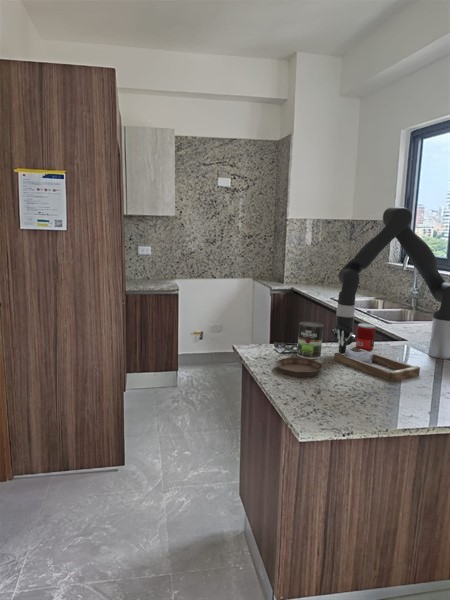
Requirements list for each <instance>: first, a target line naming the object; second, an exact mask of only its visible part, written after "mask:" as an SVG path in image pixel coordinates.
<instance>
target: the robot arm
mask: <svg viewBox="0 0 450 600" xmlns="http://www.w3.org/2000/svg"><path fill="white" fill-rule="evenodd" d="M412 219H413V214H412V212H411V210H409V209H408V208H406V207H402V206H391V207H388V208H387V209H386V210H384V212H383V214H382V221H383V224H384V225H385V226H384V227H383V228H382V230H381V231H379V232H378V234H376V235H375V236H374V237H373V238H371V239H370V240H369V241H367V242H366V243H365V244H364V245H363V246H362V247H361V249H359V250H358V252H357V253H356V255H355V256H354V257H353V258H352V259H351V260H350V261H349V262H348V263H347V264H345V265H344V266H343V267H342V269H341V270H340V271H339V273H338V280H339V281H340V283H342V285H341V291H340V290H339V293H338V299H337V306H336V317H335V325H336V326H335V328H334V329H331V334H332V336H333V339H334V341H335V343H337V344H338V353H340V354H343V355H344V354H345V352H346V351H347V346H351V344H352V343H353V342H354V341H356V340H355V339H357V334H356V335H355V334H354V333H353V326H354V323H355V322H354V321H355V311H356V310H355V307H356V305H355V304H356V295H357V292H358V288H359V285H360V284H359V283H360V275H359V274H360V272H362V271H363V270H366V269H367V268H368V267H369V266H370V265H371V264H372V263H373V261H375V259H376V258H377V257H378V255H380V253H381V252H382V251H383V250H384V249H385V247H387V246H388V245H389V244H390V243H391V241H393V240H394V239H396V240H397V242H398V243H399V244H400V245H399V246H401V248H402V250H403V251H404V252H405V254H406V256H407V257H408V259H409V261H410V262H411V264H413V267H415V269H416V270H417V272H418V273H419V275H420V276H421V278H422V279H423V280H424V282H425V284H426V287H427V288H428V290H429V291H430V294H431V295H432V297H433V299H434V300H435V301H437V302H439V303H440V308H439V309H438V310H435V311H434V312H433V314H432V315H433V316H432V323H431V324H432V325H431V332H430V339H429V340H430V341H429V347H428V348H429V349H428V356H429V357H432V358H436V359H443V360H447V359H450V282H447V281H446V280H445V279H444V278H443V276H442V275H441V274H440V272H439V270H438V262H437V257H436V255H435V253H434V252H433V251H432V249H431V247H430V246H429V245H428V244H427V242H426V241H425V240H424V239H423V238H421V237H420V236H419V235H417V233H415V232H414V231H413V229H412V228H411V227H410V224H411V222H412Z"/></svg>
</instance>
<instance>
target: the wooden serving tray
mask: <svg viewBox="0 0 450 600" xmlns="http://www.w3.org/2000/svg"><path fill="white" fill-rule="evenodd" d="M357 350H358V351H357V352H370V353H372V354H373V361H372V362H375V363H377V364H380V365H383V366H386V367H389V368H392V369H394V370H392V371H390V370H387V369H384V368H382V367H379V366H375V365H373V364H372V365H371V364H368V363H365V362H362V361H359V360H357V359H354V358H351V357H348V356H345V355H344V354H340V353H339V352H334V355H333V357H334V358H333V360H334V361H336V362H339V363H341V364H344V365H347V366H350V367H352V368H355V369H358V370H360V371H363V372H366V373H368V374H370V375H374V376H375V377H379V378H381V379H384V380H387V381H389V382H391V383H393V382H397V381H402V380H405V379H406V380H407V379H411V378H414V377H419V376H420V371H421V367H420V366H418V365H417V366H414V365H411V364H408V363H406V362H402V361H399V360H396V359H393V358H389V357H387V356H384V355H381V354H377V353H374V352H372V351H370V350H363V349H358V348H357Z"/></svg>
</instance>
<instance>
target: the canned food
mask: <svg viewBox="0 0 450 600" xmlns="http://www.w3.org/2000/svg"><path fill="white" fill-rule="evenodd" d="M375 335H376V325H375V324H370V323H363V322H362V323H358V324H357V332H356V338H355V339H356V340H355V347H356V348H357V350H358V349H363V350H366V351H372V350H374V348H375V347H374V345H375V338H376V337H375Z"/></svg>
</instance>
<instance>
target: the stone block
mask: <svg viewBox="0 0 450 600" xmlns="http://www.w3.org/2000/svg"><path fill="white" fill-rule="evenodd" d="M370 352H371V351H369V352H358V351H353V350H352V349H348V350H346V352H345V354H343V355H345V356H348V357H351V358H354V359H357V360H359V361H362V362H365V363H368V364H371V365H373V364H372V362H374V361H373V354H372V353H373V352H372V353H370Z"/></svg>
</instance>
